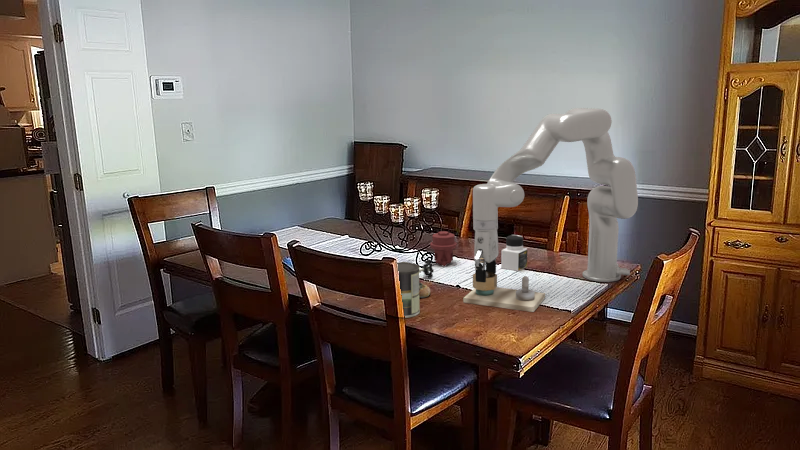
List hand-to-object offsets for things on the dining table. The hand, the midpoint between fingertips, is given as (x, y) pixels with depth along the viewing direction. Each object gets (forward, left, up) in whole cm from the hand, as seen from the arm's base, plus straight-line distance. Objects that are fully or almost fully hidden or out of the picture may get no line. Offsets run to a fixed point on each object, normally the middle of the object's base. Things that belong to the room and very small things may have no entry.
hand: (486, 277), depth 195 cm
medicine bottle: (+1, -36, -7) cm, 36 cm away
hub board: (-6, 0, -7) cm, 9 cm away
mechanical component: (+27, -31, -7) cm, 42 cm away
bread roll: (+22, +6, -7) cm, 24 cm away
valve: (+29, -8, -7) cm, 31 cm away
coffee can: (+18, +22, -7) cm, 30 cm away
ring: (0, 0, -3) cm, 3 cm away
